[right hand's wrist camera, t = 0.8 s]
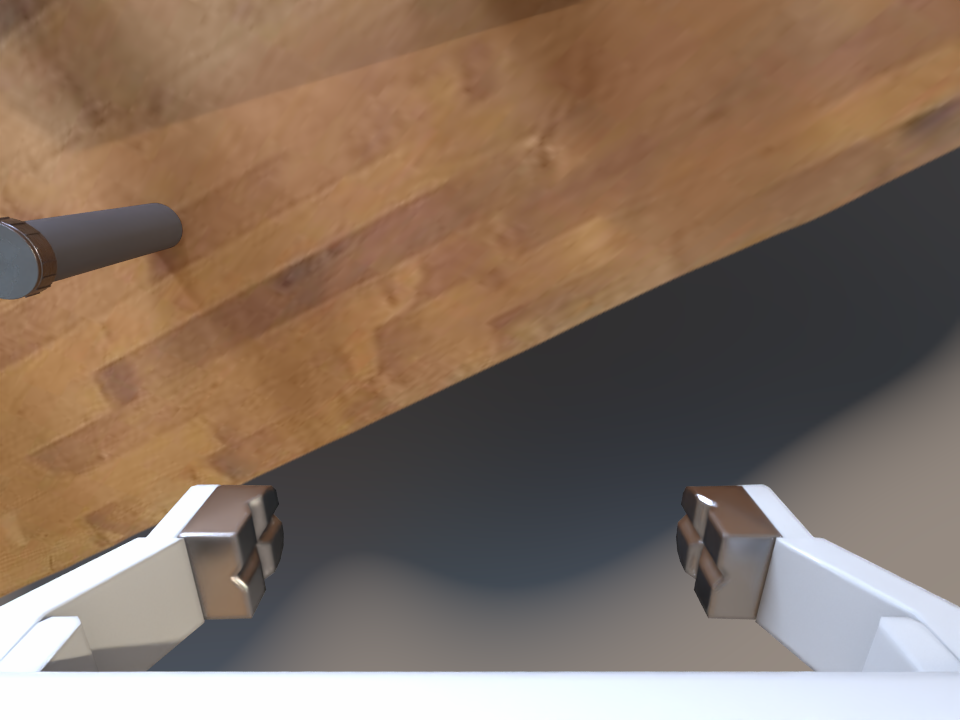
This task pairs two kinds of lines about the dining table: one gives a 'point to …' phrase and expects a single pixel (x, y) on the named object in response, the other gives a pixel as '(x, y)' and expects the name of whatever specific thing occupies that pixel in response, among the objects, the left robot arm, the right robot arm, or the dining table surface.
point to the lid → (24, 260)
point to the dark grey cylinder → (108, 236)
